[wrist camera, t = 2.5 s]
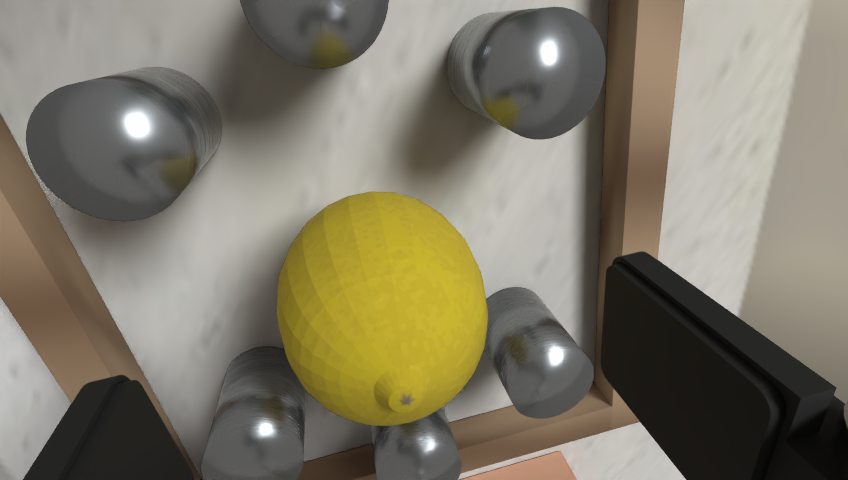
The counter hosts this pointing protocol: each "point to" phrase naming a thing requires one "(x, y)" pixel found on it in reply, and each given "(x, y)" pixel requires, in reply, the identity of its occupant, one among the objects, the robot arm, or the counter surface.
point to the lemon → (381, 309)
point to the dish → (532, 470)
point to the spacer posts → (199, 139)
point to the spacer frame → (474, 437)
